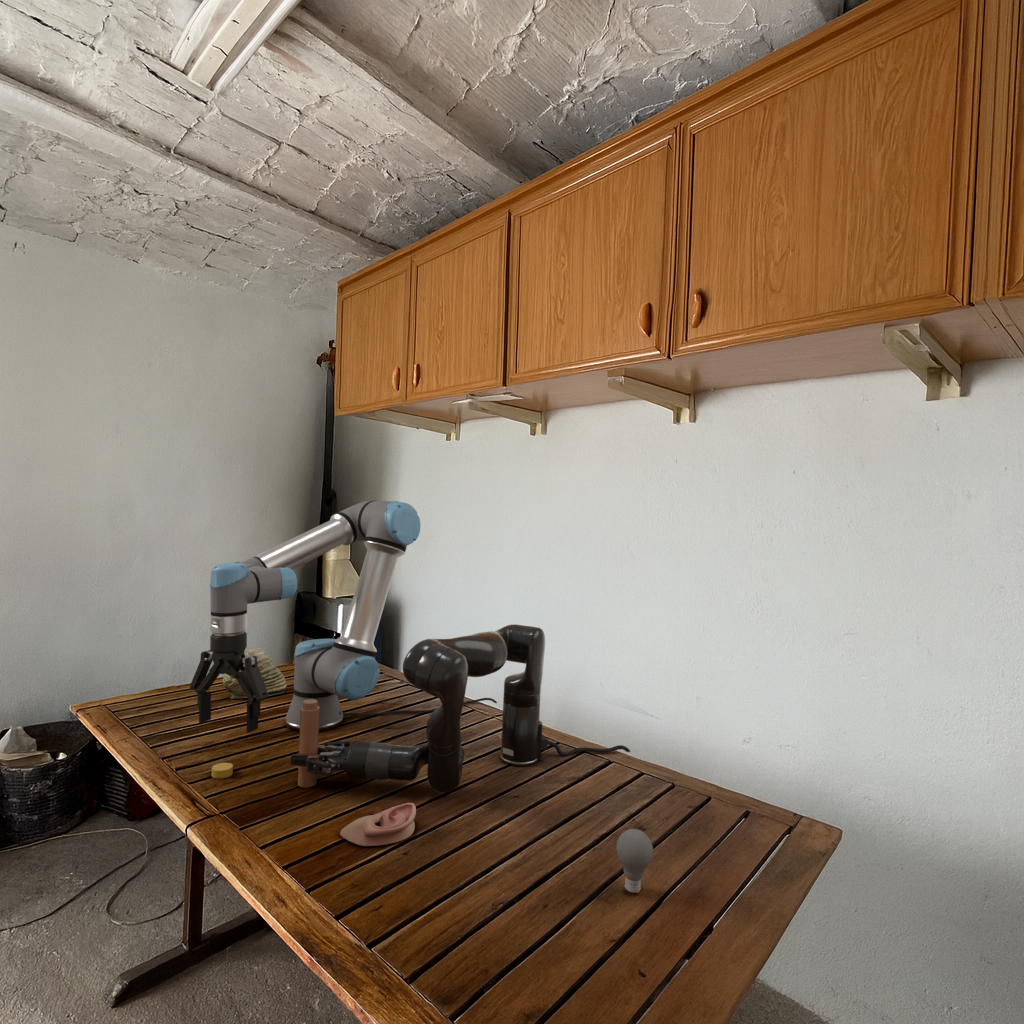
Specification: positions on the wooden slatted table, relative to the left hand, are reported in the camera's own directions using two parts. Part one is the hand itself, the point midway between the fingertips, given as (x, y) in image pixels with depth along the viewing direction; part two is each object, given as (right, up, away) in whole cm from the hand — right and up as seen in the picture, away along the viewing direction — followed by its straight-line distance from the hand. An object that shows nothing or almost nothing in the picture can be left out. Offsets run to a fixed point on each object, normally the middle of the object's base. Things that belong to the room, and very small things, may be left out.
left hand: (228, 725), depth 143 cm
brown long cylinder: (+19, -12, -3) cm, 22 cm away
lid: (-1, -9, -1) cm, 9 cm away
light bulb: (+84, -15, -37) cm, 93 cm away
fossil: (-17, -9, +55) cm, 58 cm away
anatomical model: (+39, -13, -22) cm, 46 cm away
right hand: (+16, -5, -3) cm, 18 cm away
